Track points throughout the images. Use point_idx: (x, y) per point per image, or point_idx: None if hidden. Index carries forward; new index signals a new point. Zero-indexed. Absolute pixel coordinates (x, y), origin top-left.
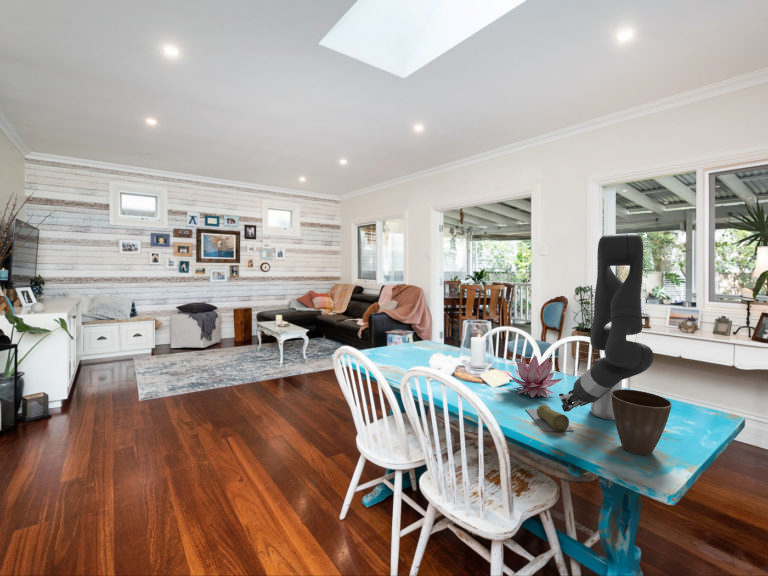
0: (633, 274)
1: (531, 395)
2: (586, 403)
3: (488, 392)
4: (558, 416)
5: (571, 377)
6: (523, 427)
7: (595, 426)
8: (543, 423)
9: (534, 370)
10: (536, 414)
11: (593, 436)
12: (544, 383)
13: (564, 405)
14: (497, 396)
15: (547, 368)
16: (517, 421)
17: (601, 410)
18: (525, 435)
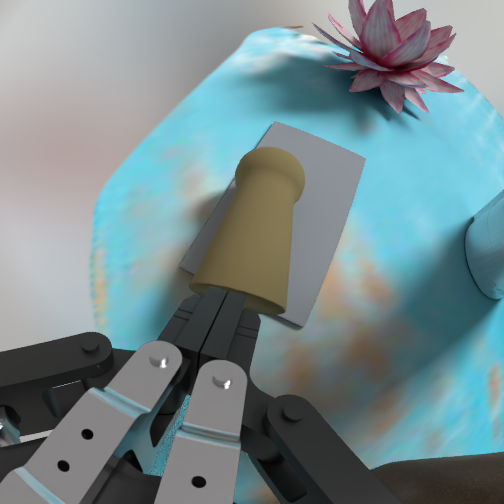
0: None
1: (357, 86)
2: (292, 492)
3: (264, 46)
4: (216, 287)
5: (488, 105)
6: (138, 217)
7: (420, 318)
8: None
9: (384, 22)
10: None
11: (342, 391)
12: (412, 75)
13: (66, 396)
14: (267, 59)
15: (438, 45)
16: (164, 174)
17: (489, 264)
18: (91, 268)
